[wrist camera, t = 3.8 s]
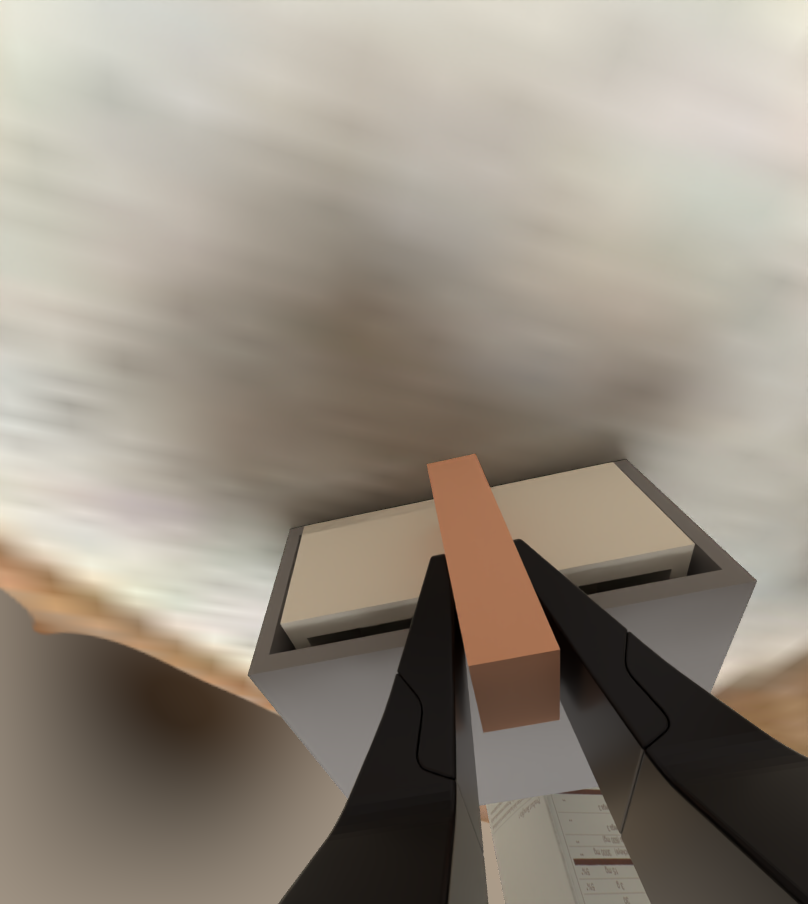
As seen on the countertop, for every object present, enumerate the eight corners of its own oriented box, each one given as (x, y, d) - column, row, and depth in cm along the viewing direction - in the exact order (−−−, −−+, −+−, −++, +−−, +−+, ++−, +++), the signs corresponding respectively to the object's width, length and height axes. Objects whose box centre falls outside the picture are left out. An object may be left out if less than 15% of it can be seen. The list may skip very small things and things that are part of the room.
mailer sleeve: (626, 459, 15) (757, 580, 10) (605, 644, 22) (676, 774, 16) (290, 529, 16) (247, 675, 11) (369, 686, 22) (367, 823, 17)
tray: (618, 400, 13) (884, 591, 6) (595, 646, 21) (702, 851, 14) (279, 473, 14) (181, 717, 7) (380, 685, 21) (381, 898, 15)
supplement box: (561, 746, 28) (673, 1065, 18) (470, 741, 27) (532, 1084, 16) (613, 696, 25) (795, 1057, 14) (513, 686, 23) (628, 1079, 13)
